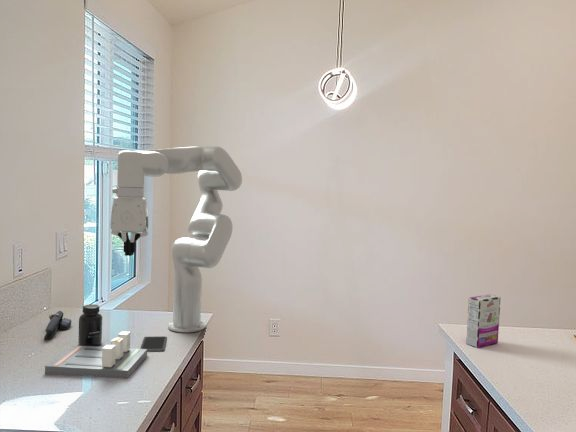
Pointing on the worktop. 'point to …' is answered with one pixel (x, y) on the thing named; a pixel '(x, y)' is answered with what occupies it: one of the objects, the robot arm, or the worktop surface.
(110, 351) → the block
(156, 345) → the cell phone
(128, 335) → the block
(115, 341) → the handle
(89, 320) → the supplement bottle
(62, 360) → the breaker board
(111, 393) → the worktop surface
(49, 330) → the can opener
